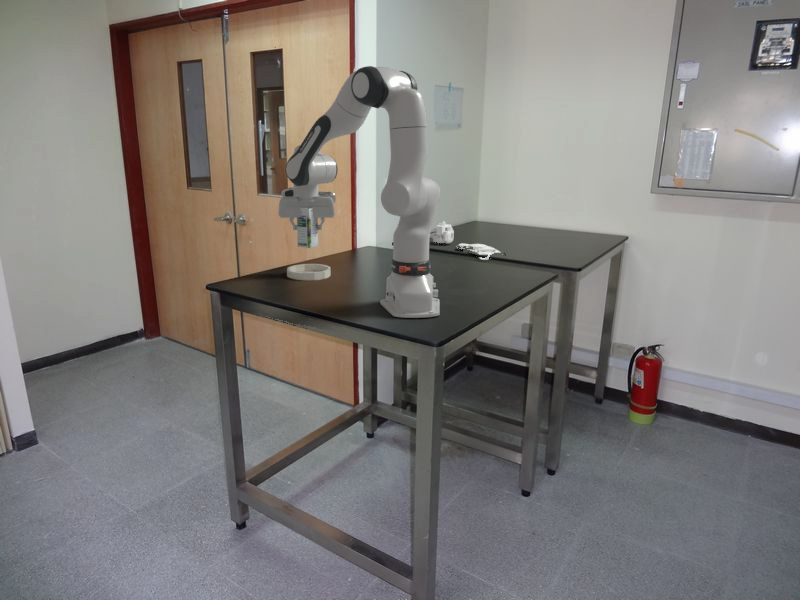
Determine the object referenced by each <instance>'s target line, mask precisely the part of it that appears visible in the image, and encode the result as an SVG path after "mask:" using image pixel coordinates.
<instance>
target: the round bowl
mask: <svg viewBox="0 0 800 600" xmlns="http://www.w3.org/2000/svg"><path fill="white" fill-rule="evenodd" d="M286 268H287V269H286V276H287V278H289V279H291V280H297V281H320V280H325V279H328V278H330V277H331V276H332V275H331V274H332V273H331V272H332V271H331V266H329V265H327V264H321V263H301V264H295V265H290V266H288V267H286Z"/></svg>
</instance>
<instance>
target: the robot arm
mask: <svg viewBox="0 0 800 600" xmlns="http://www.w3.org/2000/svg"><path fill="white" fill-rule="evenodd" d="M425 106H426V105H425V101H424V97H423V95H422V93H421V92H420V91H419V90H418V84H417V80H416V79H415V77H414V76H413V75H411V73H408V72H407V71H404V70H396V69H394V68H390V67H384V66H375V67H374V66H372V65H368V66H363V67H360V68H358V69H357V70H355V71H353V72H352V73H351V74H349V76H348V78H347V79H346V80H345V82H344V83H343V85H342V86H341V87H340V89H339V91H338V94H337V95H336V98H335V100H334V101H333V103H332V104H331V106H330V107H329V108H327V109H328V110H327V111H326V112H325V113H323V114H322V115H321V116H319V118H318V119H316V121H315V122H314V124H313V125H311V128H309V129H310V130H309V131H308V133H307V134H306V136H305V137H304V139H303V141H302V142H301V144H300V145H298V146H296V147H294V150H293V153H292V155H291V156H290V158H289V159H288V160H287V163H286V165H285V174H286V177H287V178H288V180H289V181H290V182H291V183H292V185H293V187H288V188H285V189H283V190H282V191H281V198H280V199H279V203H278V216H279V217H280V218H281V219H282V218H285V219H287V218H288V219H289V222H290V224H291V225H292V231H297V224H296V223H295V222H294V220H295V218H296V219H297V218H300V216H301V208H312V209H313V217H314V218H318V219H319V218H320V223H319V224H318V231H322V229H323V224H324V222H325V218H326V219H327V218H329V219H330V218H331V219H332V218H334V217H335V215H336V214H335V212H336V211H335V209H336V208H335V203H336V202H337V201H336V199H337V198H336V195H335V193H334V192H331V191H320V189H319V187H320V185H319V184H323V185H324V184H329V183H332V182H334V181H335V179H337V175H338V169H339V168H338V165H337V162H336V160H335V159H334V158H333V156H331V155H327V154H325V153H323V152H321V150H322V148H323V146H325V145H326V144H327V143H328V142H329V141H331V140H334V139H336V138H340V137H342V136H343V137H344V136H348V135H350V134H354V133H355V132H357V131H358V130H359V129H360V128H361V127H362V126H363V125H364V123H365V121H366V119H367V117H368V115H369V113H370V111H371V109H372V108H375V109H379V108H382V109H385V110H386V112H387V114H388V124H389V125H388V127H389V142H390V143H389V145H390V163H389V170H388V174H387V175H388V176H387V179H386V183H385V185H384V187H383V188H382V191H381V193H380V202H381V203H380V204H381V205H382V208H383V209H384V210H385V211H386V212H387V213H388V214H390V215H392V216H396V217H400V218H399V221H398V224H397V227H396V229H395V231H393V239H392V241H393V243H392V246H393V248H392V249H393V250H392V251H393V252H392V253H393V254H392V259H391V274H389V276H387V277H386V288H385V291H386V292H385V298H384V299H381V300H380V305H381V306H382V307H383V308H384V309H385V310H386V311H387V312H388V313H389V314H390V315H392V316H393V317H396V318H405V319H407V318H409V319H410V318H411V319H412V318H413V319H419V318H433V317H438V316H440V309H441V307H440V304H441V303H440V301H441V300H440V299H439V298H438V297H439V289H434V288H436V287H437V283H436V282H434V276H433V275H432V274H431V260H430V234H431V232H432V230H431V229H432V226H433V225H432V224H433V220H434V216H435V213H436V209H437V206H438V204H439V202H440V200H441V196H442V195H441V194H442V193H441V192H442V191H441V188H440V186H439V184H438V183H437V181H435V180H433V179H431V178H430V177H429V178H428V177H426V176H424V175H423V174H424V168H425V165H426V161H427V160H428V157H429V138H428V137H429V136H428V135H429V134H428V133H429V132H428V120H427V119H428V118H427V113H426V107H425Z"/></svg>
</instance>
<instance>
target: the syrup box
mask: <svg viewBox="0 0 800 600" xmlns="http://www.w3.org/2000/svg"><path fill="white" fill-rule="evenodd" d="M318 219H319V218H314V217H313V209H312V208H301V216H300V218H296V225H297V230H296V234H297V239H296V240H297V248H305V249H311V248H315V247H318V246H319V230H318V225H319V224H318V223H319V222H318Z"/></svg>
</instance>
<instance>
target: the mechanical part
mask: <svg viewBox="0 0 800 600" xmlns="http://www.w3.org/2000/svg"><path fill="white" fill-rule="evenodd" d="M454 230H455V229H453V227H452V224H450V223H449V224H447V223H446V221H445V220H443V221H442V222H438V224H436V228H434V229H433V233H430V238H431V239H432V242H433V243H434V242H435V243H436V242H437V243H438V244H439V243H440V244H444V243H446V244H451V243H453V241H454V234H455V231H454ZM430 238H429V239H430ZM437 243H436V244H437Z"/></svg>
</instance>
